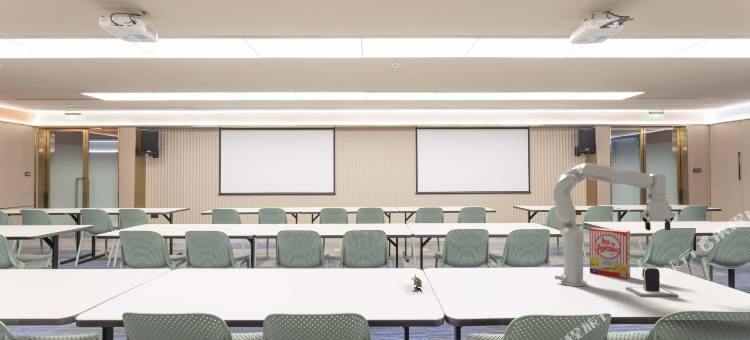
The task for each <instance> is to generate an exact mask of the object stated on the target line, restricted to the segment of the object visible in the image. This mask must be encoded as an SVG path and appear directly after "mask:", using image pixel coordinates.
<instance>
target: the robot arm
mask: <svg viewBox="0 0 750 340" xmlns="http://www.w3.org/2000/svg"><path fill="white" fill-rule="evenodd" d="M588 179H589V180H593V181H597V182H603V183H604V182H605V183H610V184H620V185H627V186H633V187H635V188H641V189H647V188H648V194H646V195H645V196H646V198H648V199H647V200H646V205H645V211H643V212H641V213H640V214H639V216H640V218H641V220H642V221H643V222H644V228H645V230H646V231H651V221H652V220H664V230H665V231H670V230H671V223H672V221H674V219H675V217H676V213H674V212H672V211H671V210H670V209H671V208H670V202H669V200H668V199H667V191H666V190H667V188H666V187H667V186H666V185H667V184H666V183H667V182H666V180H667V179H666V174H664V173H646V172H640V171H635V170H634V171H633V170H628V169H623V168H618V167H614V166H608V165H603V164H602V165H601V164H597V163H592V162H585V163H584V162H583V163H580V164H579V165H577V166H575V167H573V168H571V169H569V170H568V171H566V172H564V173H562V174H560V175H559V176H558V179H557V182H556V183H555V186H554V188H553V199H554V204H555V208H556V210H555V213H554V214H555V220H556V222H557V226H558V230H559V232H560V235H561V237H562V238H563V273H562V274H561V275H554V279H555V280H559V281H560V283H561V284H563V285H565V286H571V287H585V286H586V285H587V282H586V280H585V281H584V257H583V256H584V255H583V254H584V251H583V250H584V239H585V237H584V232H583V231H582V229H581V228H580V227H579V226H578V225H577V221H576V220H577V213H576V210H575V209H576V208H575V207H574V203H573V200H572V195H571V194H572V193H571V192H572V191H573V189H574V188H575V187H576V186H577V184H579V183H580V182H582V181H585V180H588Z"/></svg>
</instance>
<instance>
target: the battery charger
mask: <svg viewBox="0 0 750 340" xmlns="http://www.w3.org/2000/svg"><path fill="white" fill-rule="evenodd" d="M641 275H642V276H641V277H642V278H643V287H644V290H645V291H660V288H661V287H660V278H661V276H660V270H659V269H658V268H656V267H643V268H642V274H641Z"/></svg>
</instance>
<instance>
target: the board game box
mask: <svg viewBox="0 0 750 340" xmlns="http://www.w3.org/2000/svg"><path fill="white" fill-rule="evenodd" d="M589 273H590V274H596V275H601V276H607V277H613V278H619V279H626V280H628V279H630V278H631V230H621V229H610V228H603V227H602V228H599V227H590V228H589Z"/></svg>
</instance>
